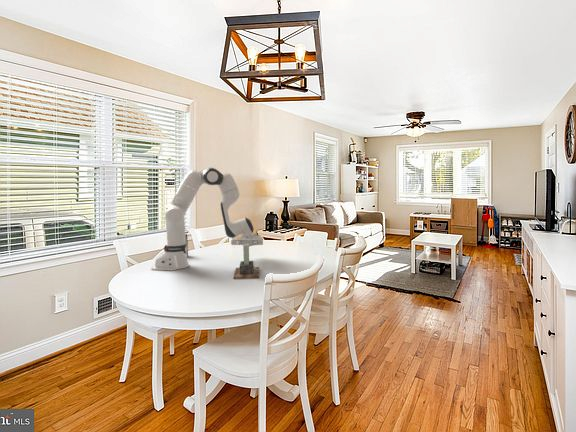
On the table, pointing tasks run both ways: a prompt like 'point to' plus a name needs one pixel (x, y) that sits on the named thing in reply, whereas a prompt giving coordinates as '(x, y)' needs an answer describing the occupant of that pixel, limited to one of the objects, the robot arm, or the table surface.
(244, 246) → the pale green block
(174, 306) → the table surface
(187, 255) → the coffee box
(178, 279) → the table surface
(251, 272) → the wooden base with socket
